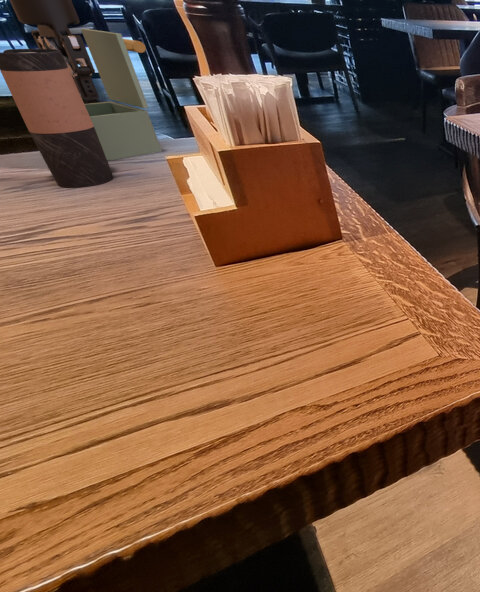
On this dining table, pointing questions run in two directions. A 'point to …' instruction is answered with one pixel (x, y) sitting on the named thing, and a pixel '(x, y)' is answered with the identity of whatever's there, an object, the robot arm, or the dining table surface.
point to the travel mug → (55, 116)
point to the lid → (116, 65)
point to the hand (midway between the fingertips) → (82, 96)
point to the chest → (123, 130)
